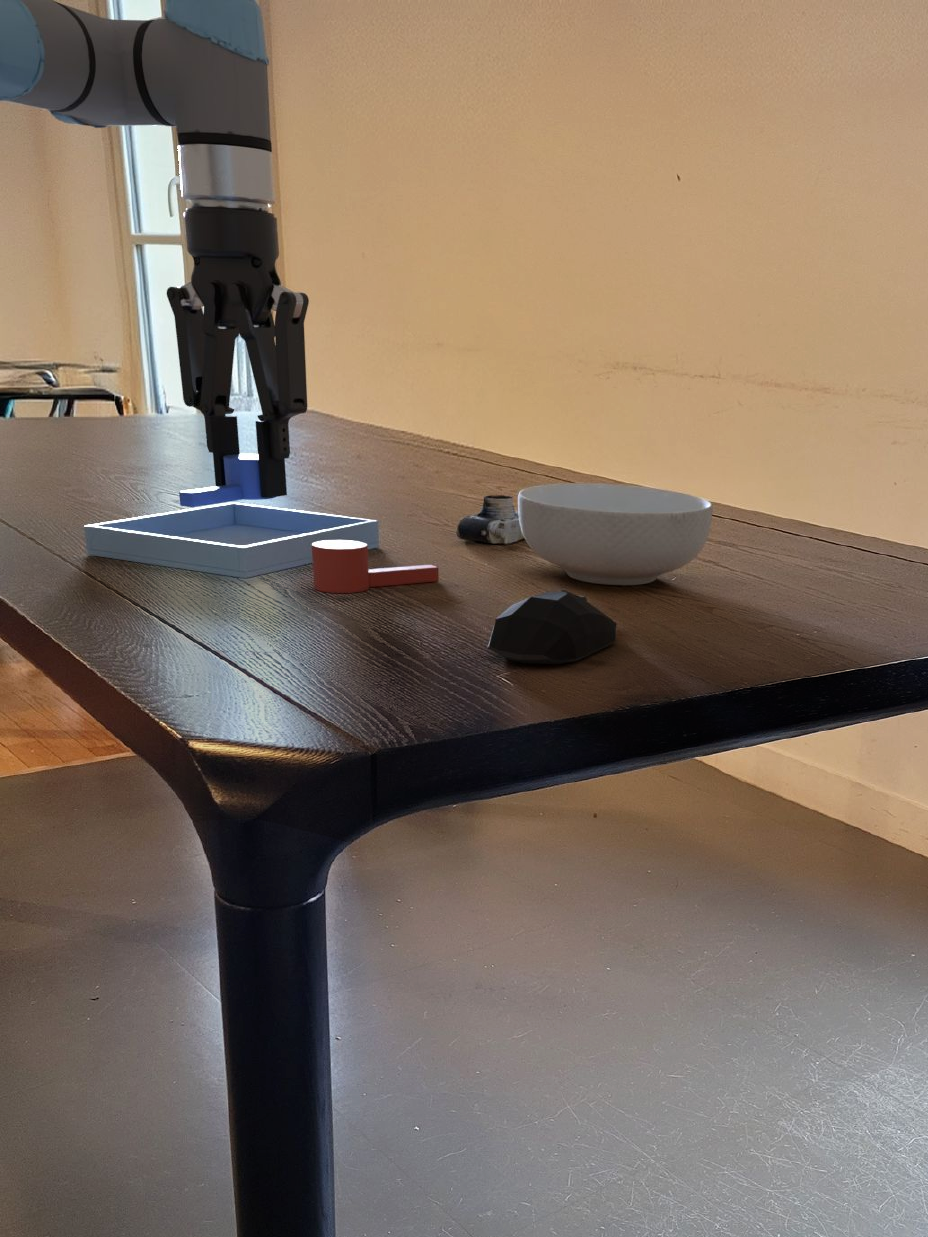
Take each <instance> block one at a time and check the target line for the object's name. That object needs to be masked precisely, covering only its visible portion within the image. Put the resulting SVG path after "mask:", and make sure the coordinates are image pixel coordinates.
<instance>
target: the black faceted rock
mask: <svg viewBox="0 0 928 1237" xmlns="http://www.w3.org/2000/svg"><path fill="white" fill-rule="evenodd" d="M616 641H617V622H616V621H614V620H613V619H612V618H611V617H610V616H608V615H606V613H604V612H603V611H601V610H600V609H598V608H597V607H596V606H594V605H593V604H592V603H590V602H589V601H588V598H587V597H586V596H583V595H577V594H574V593H572V592H569V591H568V590H565V589H561V590H550V591H547V592H543V593H540V594H537V595H533V596H529V597H527V598H525V599H523V600H520V601H518V602H516V603H513V604H511V605H510V606H509V607H508V608H506V609H505V610H504V611H503V612H502V613H501V614H500V615H498V616H497V617H496V618H495V620H494V624H493V628H492V631H491V634H490V638H489V641H488V644H487V649H488V650H490V651H492V652H493V653H495V654H497V655H498V656H500V657H502V658H504V659H505V660H509V661H512V662H518V663H523V664H534V665H535V664H536V665H537V664H538V665H541V664H542V665H561V664H568V663H573V662H577V661H579V660H580V661H581V659H584V658H586V657H588V656H590V655H592V654H594V653H596V652H599V651H600V650H603V649H605V648H607V647H609V646H610V645H612V644H614V643H615V642H616Z"/></svg>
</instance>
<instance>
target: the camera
mask: <svg viewBox="0 0 928 1237" xmlns="http://www.w3.org/2000/svg"><path fill="white" fill-rule="evenodd" d="M513 503H514V496H510V495H504V494H490V495H489V494H488V495H486V496H484V497H483V503H482V505H481V509H480V511H479V512H478V514H474V515H465V516H463V517H462V518H461V519H460V521H459V522H458V524H457V528H456V531H455V534H456V535H457V538H458V539H460V540H465V541H474V542H480V543H488V544H493V545H494V544H500V545H512V543H515V542H518V541H520V540H523V539H524V536H523V535H522V531H521V526H520V523H519V515H518V510H516V509H515V505H514V504H513Z"/></svg>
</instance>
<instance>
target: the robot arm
mask: <svg viewBox="0 0 928 1237" xmlns="http://www.w3.org/2000/svg"><path fill="white" fill-rule="evenodd" d="M163 13H164V16H163V17H164V18H157V19H149V20H147V19H144V20H142V19H113V18H112V19H111V18H105V17H101V16H99V15H96V14H93V13H90V12H87V11H84V10H82V9H79V8H75V7H72V6H69V5H67V4H63V3H60V2H58V1H55V0H0V102H9V103H13V104H16V105H17V104H18V105H22V106H28V107H32V108H36V109H41V110H47V111H48V112H50V114H51V116H53V117H54V118H55V119H56V120H57V121H59V122H62V123H64V124H70V125H80V126H87V127H93V128H95V129H105V128H107V127H128V126H129V127H132V126H133V127H134V126H136V127H137V126H139V127H140V126H141V127H144V126H146V127H147V126H148V127H149V126H152V127H153V126H165V127H173V128H174V127H175V130H176V131H175V132H176V136H177V149H178V150H177V151H178V161H179V164H178V165H179V174H180V175H179V176H180V190H181V197H182V199H184V201H187V202H189V205H190V207H187V208H185V211H184V212H183V219H184V220H183V221H184V232H185V244H186V251H187V252H188V254H189V255H190V256H191V257H192V259H193V269H192V273H191V276H190V281H189V282H187V283H186V284H184V285H182V286H169V287H168V288H167V289H166V297H167V300H168V303H169V305H170V308H171V311H172V314H173V317H174V324H175V333H176V334H175V335H176V343H177V354H178V362H179V372H180V381H181V390H182V400H183V403H184V405H185V406H187V407H189V408H191V407H193V408H194V409H196V410H197V411H200V413H201V414H202V415H203V417H204V429H205V438H206V447H207V450H208V453H212V459H213V470H214V471H213V472H214V482H215V487H216V486H223V485H226V482H225V470H224V459H223V457H224V456H226V455H234V454H241V453H240V439H239V438H240V437H239V425H238V416H237V415H232V414H233V413H234V412H235V408H232V407H230V401H231V390H232V381H233V380H232V379H233V368H234V359H235V358H234V357H235V346H236V339H237V338H238V337H239V336H240V337H241V339H242V340H243V341H244V343H245V346H246V351H247V355H248V358H249V363H250V368H251V372H252V376H253V380H254V385H255V389H256V393H257V396H258V401H259V405H260V409H261V414H258V415H257V419H258V420H255V435H256V448H257V454H258V463H259V477H260V490H261V498H271V499H273V498H272V497H275V498H278V497H284V496H287V495H288V491H287V490H288V489H287V475H286V460H285V459H289V458H290V454H291V446H290V445H291V443H290V429H289V423H290V420H291V419H292V418H293V417H295V416H298V415H300V414H305V413H307V411H308V390H307V389H308V386H307V365H306V363H307V362H306V339H305V319H306V316H307V312H308V307H309V303H310V301H309V299H310V298H309V297H308V295H307V293H305V292H300V291H299V292H298V291H297V292H295V291H293V290H291V289H289V288H287V287H285V286H283V285H282V281H281V278H280V276H279V274H278V271H277V269H276V262H277V259H278V258H279V256H280V247H279V230H278V218H277V217H275V214H274V213H273V212H269V208H270V207H273V206H274V205H275V204H276V190H275V187H276V186H275V174H274V160H273V146H272V144H273V143H272V137H271V136H272V134H271V118H270V117H271V116H270V96H269V75H268V74H269V73H268V72H269V71H268V66H269V65H270V59H269V57H268V54H267V44H266V37H265V36H266V35H265V30H264V19H263V13H262V9H261V7H260V5H259V4H258V3H257V1H256V0H164V10H163ZM202 308H203V309H202ZM272 310H273V311H274V312H275V316H273V311H272Z"/></svg>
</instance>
